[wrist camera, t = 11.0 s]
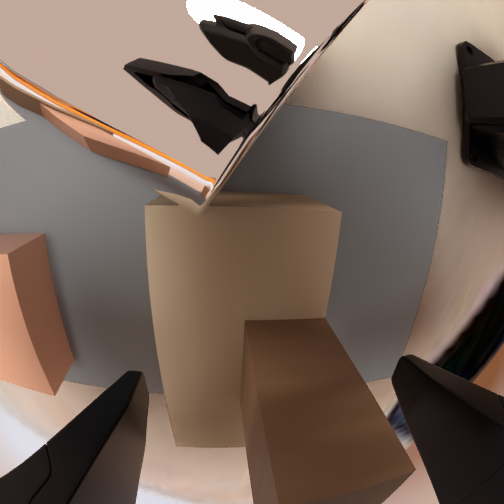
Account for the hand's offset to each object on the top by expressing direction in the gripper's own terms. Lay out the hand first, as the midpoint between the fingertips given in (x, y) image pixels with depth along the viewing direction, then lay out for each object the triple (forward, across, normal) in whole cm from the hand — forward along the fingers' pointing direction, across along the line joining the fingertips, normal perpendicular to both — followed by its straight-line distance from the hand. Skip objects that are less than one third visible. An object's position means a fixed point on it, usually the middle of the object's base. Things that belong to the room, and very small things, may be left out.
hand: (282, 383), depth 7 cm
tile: (+4, +12, 0) cm, 12 cm away
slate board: (+4, +4, -2) cm, 6 cm away
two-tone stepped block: (+4, +1, 0) cm, 4 cm away
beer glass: (+1, +13, -15) cm, 20 cm away
